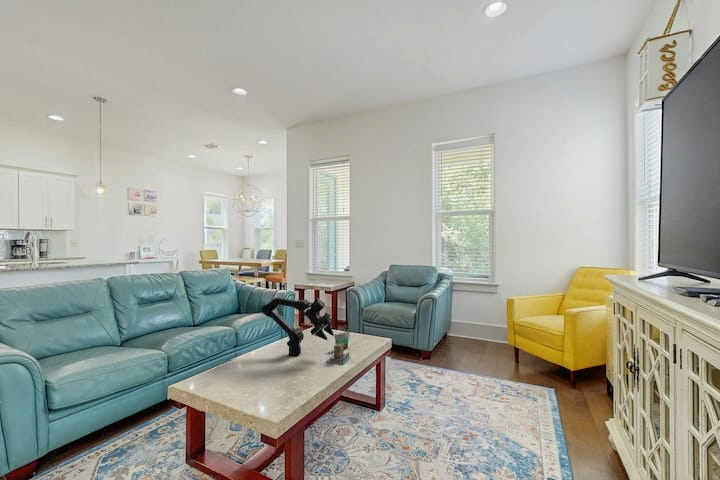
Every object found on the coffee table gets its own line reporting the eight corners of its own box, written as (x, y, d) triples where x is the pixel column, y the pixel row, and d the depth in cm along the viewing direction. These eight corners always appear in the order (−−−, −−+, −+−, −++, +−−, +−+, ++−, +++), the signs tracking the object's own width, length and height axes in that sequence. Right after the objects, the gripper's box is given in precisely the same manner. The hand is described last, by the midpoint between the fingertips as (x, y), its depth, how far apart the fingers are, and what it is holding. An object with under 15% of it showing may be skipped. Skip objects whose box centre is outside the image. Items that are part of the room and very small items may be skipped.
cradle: (326, 362, 190) (326, 356, 190) (333, 355, 201) (333, 350, 201) (344, 364, 187) (344, 358, 187) (350, 357, 197) (350, 352, 197)
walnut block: (333, 359, 192) (333, 345, 192) (337, 356, 197) (337, 343, 197) (340, 360, 191) (340, 346, 191) (343, 357, 196) (343, 344, 196)
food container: (341, 351, 208) (341, 336, 208) (334, 349, 212) (334, 334, 212) (353, 346, 218) (353, 331, 218) (346, 345, 222) (346, 330, 222)
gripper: (315, 312, 188) (333, 333, 185) (328, 305, 206) (345, 325, 203) (303, 324, 191) (320, 345, 187) (317, 317, 209) (333, 336, 205)
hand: (330, 337), depth 196 cm, fingers open, 9 cm apart
